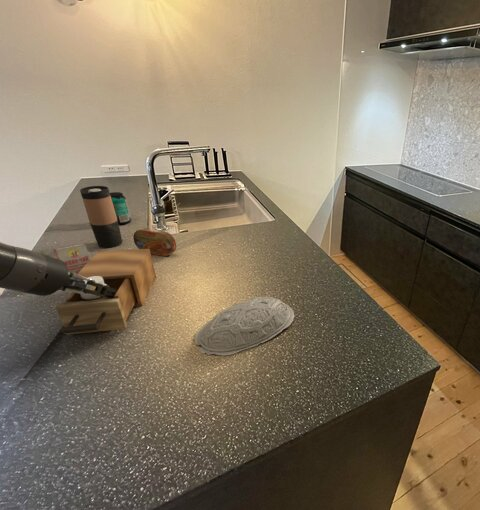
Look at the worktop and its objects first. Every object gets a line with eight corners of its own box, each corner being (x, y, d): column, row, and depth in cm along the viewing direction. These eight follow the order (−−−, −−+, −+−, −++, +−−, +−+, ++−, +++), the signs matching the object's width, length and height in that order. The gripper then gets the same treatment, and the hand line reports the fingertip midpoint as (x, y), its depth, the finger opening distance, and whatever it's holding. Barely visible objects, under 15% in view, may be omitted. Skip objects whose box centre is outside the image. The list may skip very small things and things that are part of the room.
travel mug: (121, 237, 114) (107, 184, 105) (125, 245, 109) (110, 190, 100) (96, 242, 109) (78, 187, 100) (98, 250, 104) (80, 193, 95)
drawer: (117, 344, 67) (108, 316, 63) (54, 351, 63) (40, 322, 60) (142, 295, 82) (136, 270, 79) (93, 299, 79) (83, 273, 76)
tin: (135, 250, 106) (129, 228, 102) (142, 247, 108) (137, 225, 105) (173, 258, 103) (168, 235, 99) (179, 254, 106) (175, 232, 102)
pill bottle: (87, 313, 73) (74, 279, 68) (114, 305, 76) (103, 271, 72) (91, 325, 70) (78, 289, 65) (119, 316, 73) (108, 281, 69)
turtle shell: (307, 320, 79) (304, 298, 76) (210, 371, 64) (203, 346, 61) (276, 297, 89) (273, 277, 87) (187, 336, 75) (180, 313, 72)
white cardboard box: (65, 278, 88) (52, 247, 84) (93, 271, 93) (83, 241, 88) (66, 283, 86) (54, 252, 81) (96, 276, 90) (86, 246, 86)
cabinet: (142, 305, 80) (133, 274, 76) (85, 310, 77) (73, 278, 72) (156, 277, 92) (149, 248, 88) (107, 280, 89) (98, 250, 85)
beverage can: (118, 218, 129) (111, 191, 124) (135, 220, 129) (128, 192, 124) (106, 224, 123) (98, 195, 117) (124, 226, 123) (116, 197, 117)
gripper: (-15, 282, 56) (72, 300, 72) (45, 299, 54) (122, 313, 69) (8, 245, 59) (87, 270, 74) (67, 259, 56) (136, 282, 72)
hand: (104, 291), depth 72 cm, fingers closed on pill bottle, 5 cm apart
